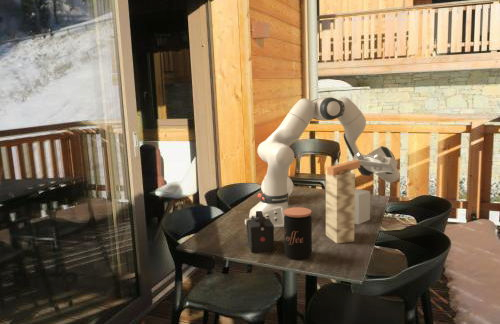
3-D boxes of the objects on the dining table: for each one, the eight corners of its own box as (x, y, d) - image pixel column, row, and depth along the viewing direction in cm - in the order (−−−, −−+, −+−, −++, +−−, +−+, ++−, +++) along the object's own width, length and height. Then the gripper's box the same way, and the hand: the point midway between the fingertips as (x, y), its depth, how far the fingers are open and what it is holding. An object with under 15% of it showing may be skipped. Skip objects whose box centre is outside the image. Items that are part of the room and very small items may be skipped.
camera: (271, 239, 197) (270, 206, 194) (277, 251, 184) (276, 215, 181) (246, 241, 196) (245, 208, 193) (250, 253, 182) (249, 217, 179)
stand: (334, 243, 190) (334, 173, 184) (323, 235, 200) (323, 168, 195) (356, 240, 192) (357, 171, 187) (344, 232, 203) (345, 166, 197)
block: (333, 175, 185) (333, 168, 184) (327, 174, 187) (327, 167, 187) (360, 167, 199) (360, 160, 198) (354, 166, 201) (354, 160, 200)
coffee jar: (278, 255, 179) (278, 211, 176) (296, 248, 186) (295, 205, 183) (300, 262, 171) (299, 216, 168) (317, 254, 179) (317, 210, 175)
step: (358, 224, 213) (358, 195, 210) (340, 220, 220) (340, 192, 217) (369, 219, 220) (370, 191, 217) (351, 215, 227) (352, 188, 224)
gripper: (362, 157, 227) (349, 147, 217) (401, 161, 213) (388, 150, 203) (359, 169, 226) (345, 159, 216) (397, 174, 211) (384, 163, 202)
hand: (366, 155), depth 209 cm, fingers open, 8 cm apart
